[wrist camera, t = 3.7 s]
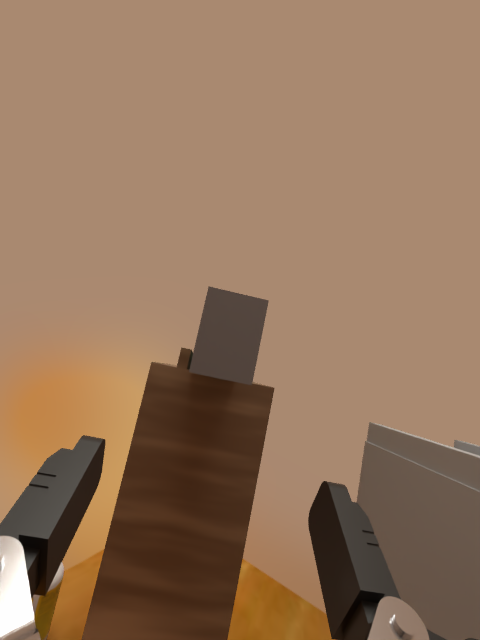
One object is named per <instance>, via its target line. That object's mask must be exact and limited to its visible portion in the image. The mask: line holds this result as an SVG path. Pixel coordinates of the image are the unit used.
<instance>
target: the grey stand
mask: <svg viewBox="0 0 480 640" xmlns="http://www.w3.org/2000/svg"><path fill="white" fill-rule="evenodd" d="M357 503H358V504H359V505H360V507H361V508H362V509H363V511H364V512H365V513H366V515H367V516H368V518H369V520H370V523H371V525H372V528H373V530H374V535H376V538H377V540H378V543H379V548H381V550H382V553H383V555H384V558H385V560H386V563H387V565H388V568H389V570H390V573H391V575H392V578H393V580H394V583H395V586H396V588H397V591H398V593H399V596H400V598H401V600H402V601H404V602H405V603H407V604H408V605H409V606H410V607H411V608H412V609H413V610H414V611H415V612H416V613H417V614H418V616H419V617H420V618H421V620H422V621H423V623H424V625H425V627H426V629H428V630H430V631H431V632H433V633H435V634H437V635H439V636H441V637H443V638H445V639H447V640H465V639H467V638H475V639H478V640H480V446H478V445H474V444H470V443H467V442H463V441H458V440H455V442H454V448H453V447H450V446H447V445H444V444H440V443H437V442H434V441H431V440H428V439H425V438H422V437H418V436H415V435H412V434H409V433H406V432H403V431H399V430H396V429H393V428H390V427H387V426H384V425H380V424H375V423H371V422H370V423H369V429H368V436H367V441H365V446H364V454H363V461H362V468H361V476H360V483H359V490H358V497H357Z"/></svg>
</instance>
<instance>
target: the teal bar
mask: <svg viewBox="0 0 480 640" xmlns="http://www.w3.org/2000/svg"><path fill="white" fill-rule="evenodd" d="M267 306H268V300H264V299H260V298H255V297H251V296H247V295H243V294H238V293H234V292H230V291H225V290H221V289H217V288H213V287H209V288H208V292H207V296H206V300H205V305H204V309H203V313H202V318H201V322H200V326H199V331H198V335H197V340H196V344H195V348H194V353H193V357H192V361H191V365H190V370H189V372H191V373H195V374H200V375H205V376H210V377H214V378H219V379H224V380H229V381H234V382H238V383H243V384H248V385H252V382H253V376H254V371H255V366H256V361H257V356H258V351H259V346H260V341H261V336H262V331H263V326H264V321H265V316H266V310H267Z"/></svg>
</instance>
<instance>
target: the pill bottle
mask: <svg viewBox="0 0 480 640" xmlns="http://www.w3.org/2000/svg"><path fill="white" fill-rule="evenodd" d="M63 574H64V567H63V564H62V562H61V564H60V566H59V569H58V571H57V573H56V575H55V577H54V579H53V581H52V583H51V585H50V587H49V590H48V592H47V594H46V596H41V595H34V596H33V598H32V599H31V601H32V607H33V613H34V620H35V625H36V628H37V629H38V631H39V634H40V638H41V640H47V637H48V633H49V629H50V625H51V621H52V617H53V614H54V610H55V606H56V602H57V598H58V594H59V590H60V587H61V583H62V579H63Z"/></svg>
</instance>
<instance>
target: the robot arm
mask: <svg viewBox="0 0 480 640" xmlns="http://www.w3.org/2000/svg"><path fill="white" fill-rule="evenodd" d="M104 449H105V439H101V438H96V437H90V436H85V435H83V436H82V437H81V438H80V440H79V441H78V443H77V444H76V446H75V447H74V449H73V450H70V449H63V448H62V449H60V450H58V451H57V452H56V453H54V454H53V455H51V456H50V457H49V458H47V460H46V461H45V462H44V464H43V465H42V467H41V468H40V469H39V471H38V472H37V475H35V476H34V478H33V479H32V481H31V482H30V484H29V486H27V487H26V489H25V490H24V492H23V493H22V495H21V496H20V497H19V499H18V500H17V501H16V503H15V504H14V506H13V507H12V508H11V510H10V511H9V513H8V514H7V515H6V517H5V518H4V520H3V521H2V522H1V524H0V640H41V638H40V634H39V631H38V629H37V628H36V625H35V620H34V613H33V607H32V601H31V599H32V598H33V596H34V595H41V596H46V594H47V592H48V590H49V587H50V585H51V583H52V581H53V579H54V577H55V575H56V573H57V571H58V569H59V566H60V564H61V562H62V560H63V558H64V556H65V554H66V552H67V550H68V548H69V546H70V543H71V541H72V539H73V537H74V535H75V533H76V531H77V529H78V527H79V524H80V522H81V520H82V518H83V516H84V514H85V512H86V510H87V508H88V506H89V504H90V502H91V500H92V497H93V495H94V493H95V491H96V489H97V486H98V483H99V480H100V477H101V473H102V465H103V457H104ZM308 521H309V531H310V536H311V540H312V545H313V550H314V555H315V560H316V565H317V570H318V574H319V579H320V584H321V589H322V594H323V599H324V603H325V608H326V613H327V618H328V623H329V627H330V632H331V637H332V639H337V640H447V639H445V638H443V637H441V636H439V635H437V634H435V633H433V632H431V631H430V630H428V629H426V627H425V625H424V623H423V621H422V620H421V618H420V617H419V616H418V614H417V613H416V612H415V611H414V610H413V609H412V608H411V607H410V606H409V605H408V604H407V603H405V602H404V601H402V600H401V598H400V596H399V593H398V591H397V588H396V586H395V583H394V580H393V578H392V575H391V573H390V570H389V568H388V565H387V563H386V560H385V558H384V555H383V553H382V550H381V548H379V543H378V540H377V538H376V535H374V530H373V528H372V525H371V523H370V520H369V518H368V516H367V515H366V513H365V512H364V511H363V509H362V508H361V507H360V505H359V504H358V503H355V502H352V501H351V498H350V495H349V493H348V490H347V488H346V486H345V485H342V484H337V483H332V482H327V481H324V482H323V483H322V484H321V486H320V488H319V491H318V493H317V495H316V498H315V500H314V502H313V504H312V507H311V509H310V513H309V520H308ZM465 640H478V639H475V638H467V639H465Z"/></svg>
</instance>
